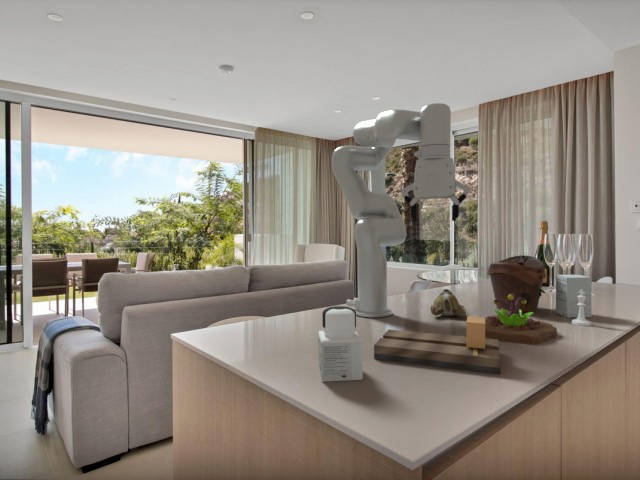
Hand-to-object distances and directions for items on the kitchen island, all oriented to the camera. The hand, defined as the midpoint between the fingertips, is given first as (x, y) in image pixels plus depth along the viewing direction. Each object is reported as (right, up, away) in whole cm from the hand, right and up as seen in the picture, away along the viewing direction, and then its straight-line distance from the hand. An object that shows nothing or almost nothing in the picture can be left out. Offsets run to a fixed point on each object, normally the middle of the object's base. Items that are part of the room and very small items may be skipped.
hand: (434, 221), depth 102 cm
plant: (+22, -30, +4) cm, 38 cm away
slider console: (-4, -31, -15) cm, 34 cm away
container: (-26, -31, -25) cm, 48 cm away
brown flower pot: (+38, -29, +33) cm, 58 cm away
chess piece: (+46, -29, +12) cm, 56 cm away
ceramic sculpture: (+11, -29, +25) cm, 41 cm away
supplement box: (+51, -29, +23) cm, 63 cm away
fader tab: (+4, -29, -18) cm, 34 cm away
